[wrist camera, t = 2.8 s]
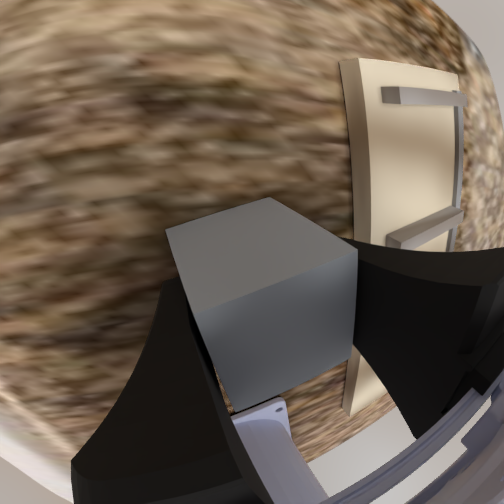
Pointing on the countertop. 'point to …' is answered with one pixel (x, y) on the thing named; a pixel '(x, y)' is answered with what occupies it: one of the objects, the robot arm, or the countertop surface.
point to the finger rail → (401, 171)
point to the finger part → (267, 296)
